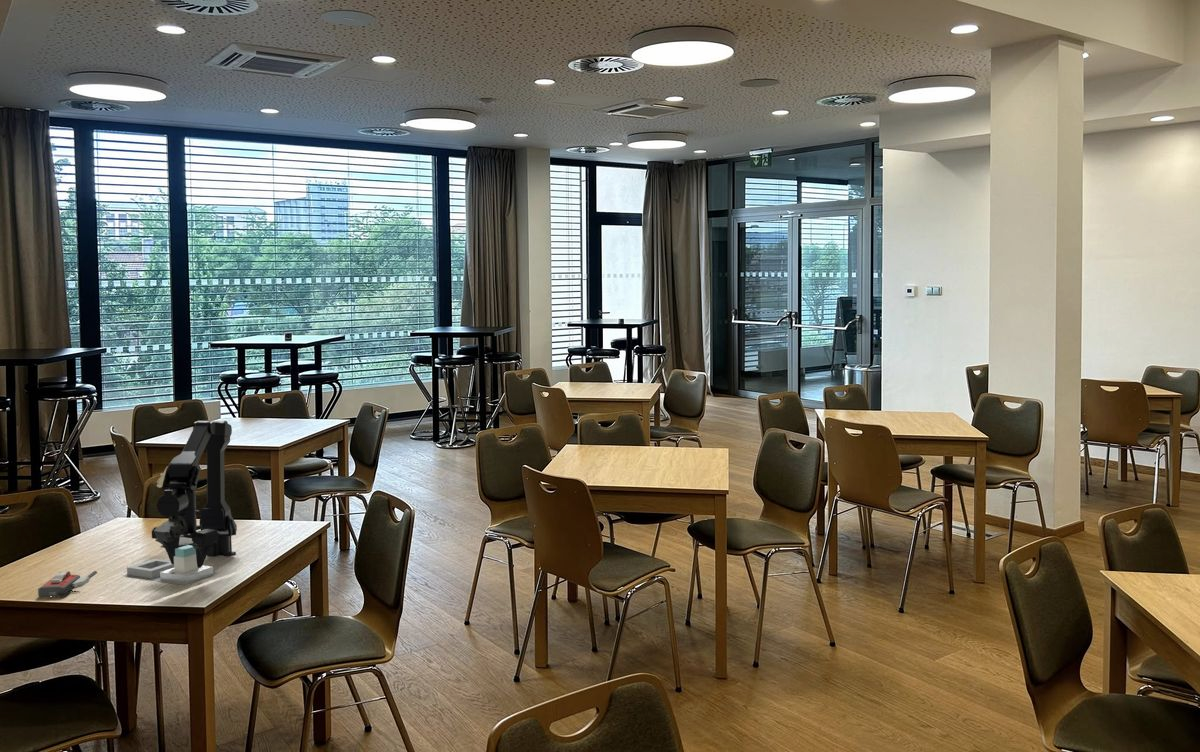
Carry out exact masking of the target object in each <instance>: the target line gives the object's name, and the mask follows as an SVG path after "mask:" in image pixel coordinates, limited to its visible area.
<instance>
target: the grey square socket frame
mask: <svg viewBox="0 0 1200 752" xmlns="http://www.w3.org/2000/svg"><path fill="white" fill-rule="evenodd" d="M172 568H174V564H171V561H170V559H168V560H167V559H161V558H153V559H149V560H147V561H143V562H140V563H137V564H134V565H133V564H132V565H130V566H126V574H127V575H133V576H139V577H146V578H155V577H158V576H160V572H162V571H165V570H168V569H172Z"/></svg>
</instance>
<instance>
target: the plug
mask: <svg viewBox="0 0 1200 752" xmlns="http://www.w3.org/2000/svg"><path fill="white" fill-rule="evenodd" d="M197 569H199V568H198V567H197V560H196V549H195V548H194V547H193V546H192V544H188V545H182V546H179V547H178V548H176V549H175V556H174V572H176V573H183V574H185V573H188V572H191V571H194V570H197Z"/></svg>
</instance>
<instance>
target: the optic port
mask: <svg viewBox="0 0 1200 752" xmlns="http://www.w3.org/2000/svg"><path fill="white" fill-rule="evenodd" d="M213 572H214V566H211V565H204V564H203V565H202V567H200V568H199V569H197V570H194V571H191V572H188V573H185V574H183V573H176V572H174V568H172V569H168V570H165V571H162V572H160V580H166V581H173V582H179V583H188V584H190V583H189V582H191V583H193V582H192V581H194V580H197V579H200V578H203V577H206V576H208V577H210V576H209V575H211V576H213V575H212V574H213ZM206 578H207V577H206ZM203 579H204V578H203ZM200 580H201V579H200ZM197 581H198V580H197ZM194 582H195V581H194Z"/></svg>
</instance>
